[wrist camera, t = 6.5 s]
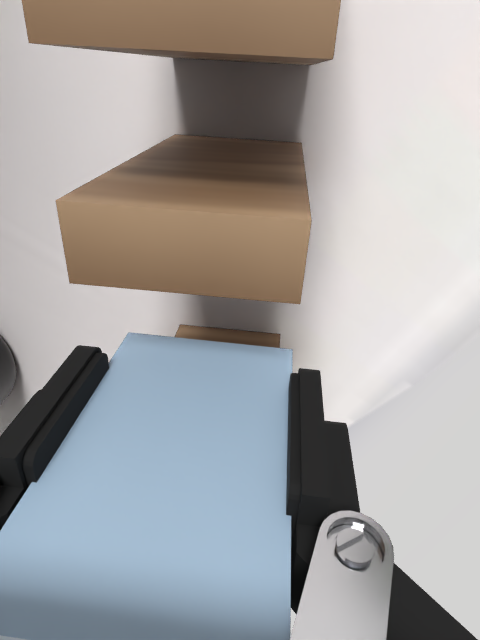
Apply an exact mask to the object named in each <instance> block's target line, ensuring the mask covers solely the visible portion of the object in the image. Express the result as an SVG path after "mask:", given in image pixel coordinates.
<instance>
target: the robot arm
mask: <svg viewBox="0 0 480 640" xmlns="http://www.w3.org/2000/svg"><path fill="white" fill-rule="evenodd" d="M108 369H109V364H108V357H107V354H105V353H102V351H101V349H100V348H99V347H90V346H81V345H79V346H77V347H76V348H75V349H74V350H73V351H72V353H71V354H70V355H69V356H68V358H67V359H66V360H65V361H64V363H63V364H62V365H61V366H60V368H59V369H58V370H57V371H56V373H55V374H54V375H53V376H52V378H51V379H50V380H49V381H48V383H47V384H46V385H45V386H44V387H43V389H42V390H39V391H38V392H37V393H36V394H34V396H33V397H32V398H31V399H30V401H29V402H28V403H27V404H26V406H25V407H24V408H23V409H22V410H21V412H20V413H19V414H18V415H17V417H16V418H15V419H14V420H13V421H12V423H11V424H10V425H9V426H8V428H7V429H6V430H5V431H4V432H3V434H2V435H1V436H0V530H1V529H2V527H3V526H4V524H5V523H6V521H7V520H8V518H9V517H10V515H11V513H12V512H13V510H14V509H15V507H16V506H17V504H18V503H19V501H20V500H21V498H22V496H23V495H24V493H25V492H26V490H27V489H28V487H29V486H30V484H31V483H32V482H36V483H37V481H38V480H39V478H40V477H41V475H42V473H43V472H44V470H45V469H46V467H47V466H48V464H49V462H50V461H51V459H52V458H53V456H54V454H55V453H56V451H57V450H58V448H59V447H60V445H61V443H62V442H63V440H64V439H65V437H66V436H67V434H68V432H69V431H70V429H71V428H72V426H73V425H74V423H75V421H76V420H77V418H78V417H79V415H80V413H81V412H82V410H83V409H84V407H85V406H86V404H87V402H88V401H89V399H90V398H91V396H92V395H93V393H94V391H95V390H96V388H97V387H98V385H99V384H100V382H101V380H102V379H103V377H104V376H105V374H106V372H107V371H108ZM286 515H289V516H291V608H292V610H293V611H294V612H295V613H296V614H297V615H296V619H295V622H294V626H293V630H292V634H291V637H290V640H477V639H476V638H475V637H474V636H473V635H472V634H471V633H470V632H469V631H468V630H466V629H465V628H464V627H463V626H462V625H461V624H460V623H459V622H458V621H457V620H455V619H454V618H453V617H452V616H451V615H450V614H449V613H448V612H447V611H446V610H444V609H443V608H442V607H441V606H440V605H439V604H438V603H437V602H436V601H435V600H434V599H432V598H431V597H430V596H429V595H428V594H427V593H426V592H425V591H424V590H423V589H422V588H421V587H419V586H418V585H417V584H416V583H415V582H414V581H413V580H412V579H411V578H410V577H409V576H408V575H406V574H405V573H404V572H403V571H402V570H401V569H400V568H399V567H398V566H397V565H395V564H394V563H393V562H394V552H393V545H392V543H391V540H390V538H389V536H388V534H387V533H386V532H385V530H384V529H383V528H382V527H381V525H379V524H378V523H377V522H376V521H374V520H373V519H372V518H370V517H368V516H366V515H364V514H362V513H360V508H359V501H358V495H357V488H356V481H355V474H354V468H353V461H352V454H351V448H350V442H349V435H348V428H347V425H346V423H339V422H330V421H324V411H323V399H322V388H321V376H320V371H319V370H311V369H301V368H299V371H298V374H297V373H291V374H290V381H289V391H288V440H287V488H286ZM0 640H27V639H20V638H14V637H7V636H1V635H0Z"/></svg>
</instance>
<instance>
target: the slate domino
mask: <svg viewBox="0 0 480 640" xmlns="http://www.w3.org/2000/svg"><path fill="white" fill-rule="evenodd" d="M291 373H292V349H283V348H274V347H264V346H254V345H245V344H235V343H225V342H216V341H206V340H196V339H187V338H177V337H167V336H157V335H148V334H138V333H128V334H127V336H126V337H125V339H124V340H123V342H122V343H121V345H120V347H119V348H118V350H117V351H116V353H115V354H114V356H113V357H112V359H111V360H110V362H109V369H108V371H107V372H106V374H105V376H104V377H103V379H102V380H101V382H100V384H99V385H98V387H97V388H96V390H95V391H94V393H93V395H92V396H91V398H90V399H89V401H88V402H87V404H86V406H85V407H84V409H83V410H82V412H81V413H80V415H79V417H78V418H77V420H76V421H75V423H74V425H73V426H72V428H71V429H70V431H69V432H68V434H67V436H66V437H65V439H64V440H63V442H62V443H61V445H60V447H59V448H58V450H57V451H56V453H55V454H54V456H53V458H52V459H51V461H50V462H49V464H48V466H47V467H46V469H45V470H44V472H43V473H42V475H41V477H40V478H39V480H38V481H37V483H36V482H32V483H31V484H30V486H29V487H28V489H27V490H26V492H25V493H24V495H23V496H22V498H21V500H20V501H19V503H18V504H17V506H16V507H15V509H14V510H13V512H12V513H11V515H10V517H9V518H8V520H7V521H6V523H5V524H4V526H3V527H2V529H1V530H0V635H1V636H7V637H14V638H20V639H27V640H290V610H291V609H290V608H291V516H289V515H286V488H287V440H288V391H289V381H290V374H291Z"/></svg>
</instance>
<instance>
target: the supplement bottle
mask: <svg viewBox="0 0 480 640" xmlns="http://www.w3.org/2000/svg"><path fill="white" fill-rule="evenodd" d="M15 381H16V365H15V361H14V358H13V355H12V353H11V351H10V349H9V347H8V345H7V344H6V342H5V341H4V340H3V338H2V337H1V336H0V405H1V404H2V403H3V402H4V400H5V399H6V398H7V397H8V396H9V394H10V393H11V391H12V389H13V387H14V384H15Z"/></svg>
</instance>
